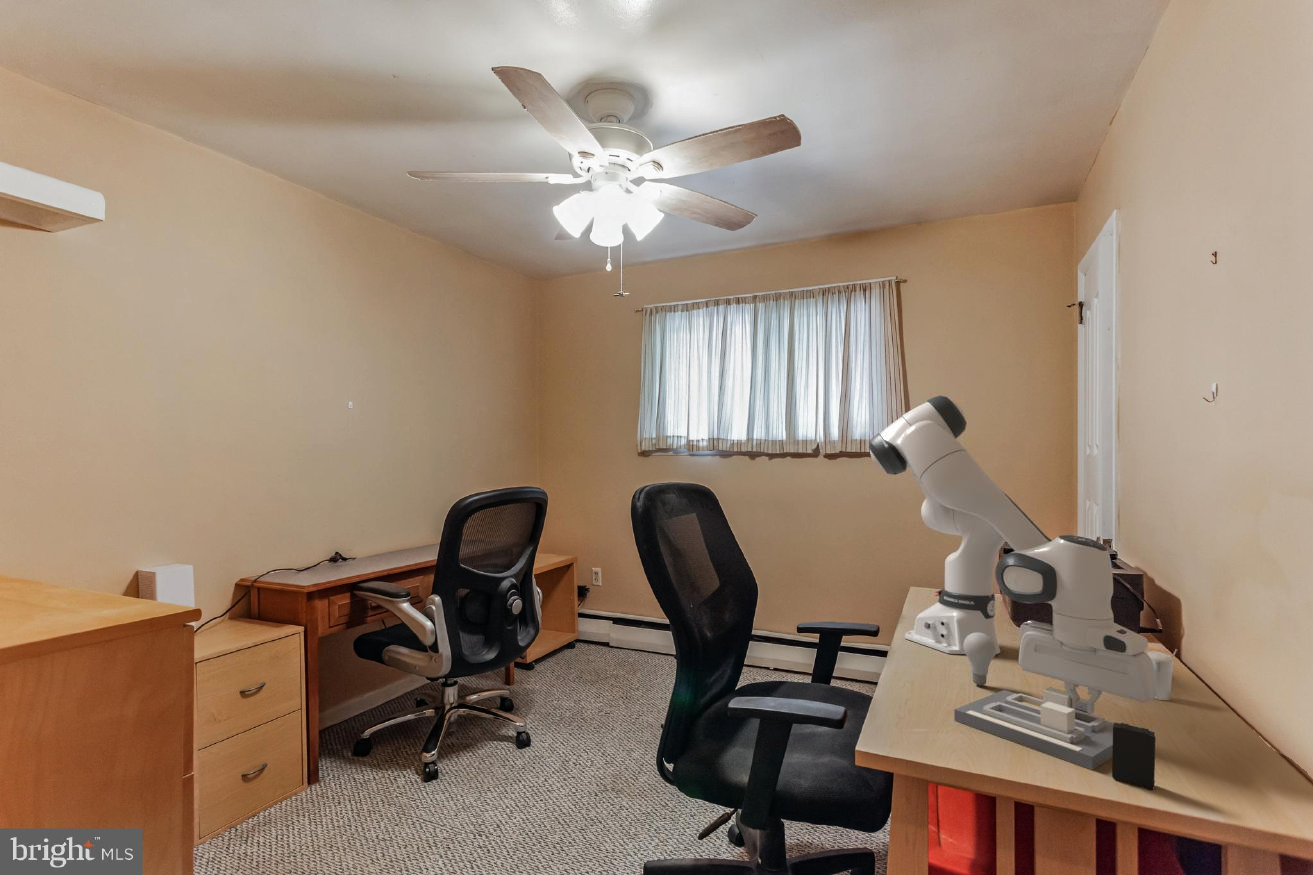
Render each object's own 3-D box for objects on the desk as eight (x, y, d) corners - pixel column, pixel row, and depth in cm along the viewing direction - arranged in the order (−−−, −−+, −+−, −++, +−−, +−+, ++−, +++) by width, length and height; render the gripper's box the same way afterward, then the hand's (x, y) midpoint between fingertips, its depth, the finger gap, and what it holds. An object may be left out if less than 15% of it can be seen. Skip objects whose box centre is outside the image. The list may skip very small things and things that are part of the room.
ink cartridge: (1154, 785, 93) (1155, 730, 93) (1154, 791, 91) (1155, 735, 92) (1113, 773, 96) (1114, 720, 96) (1111, 779, 95) (1112, 725, 95)
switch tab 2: (1040, 729, 107) (1040, 705, 107) (1048, 725, 108) (1048, 701, 109) (1066, 738, 103) (1066, 713, 104) (1074, 733, 105) (1074, 709, 105)
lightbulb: (960, 679, 137) (960, 628, 138) (990, 682, 136) (990, 630, 136) (967, 689, 131) (967, 635, 132) (1000, 692, 130) (1000, 637, 130)
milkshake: (1184, 703, 126) (1183, 652, 126) (1153, 700, 127) (1152, 650, 127) (1170, 695, 130) (1170, 645, 131) (1140, 692, 131) (1140, 643, 132)
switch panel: (954, 720, 115) (954, 703, 115) (1004, 700, 126) (1004, 684, 126) (1092, 770, 97) (1092, 750, 97) (1137, 741, 108) (1136, 723, 108)
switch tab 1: (1042, 712, 114) (1042, 690, 114) (1050, 709, 116) (1050, 686, 116) (1067, 720, 111) (1067, 697, 111) (1074, 716, 112) (1074, 693, 112)
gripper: (1011, 620, 117) (1012, 696, 117) (1145, 647, 101) (1146, 736, 100) (1028, 615, 121) (1028, 689, 121) (1159, 641, 104) (1160, 727, 104)
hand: (1083, 711), depth 110 cm, fingers closed
